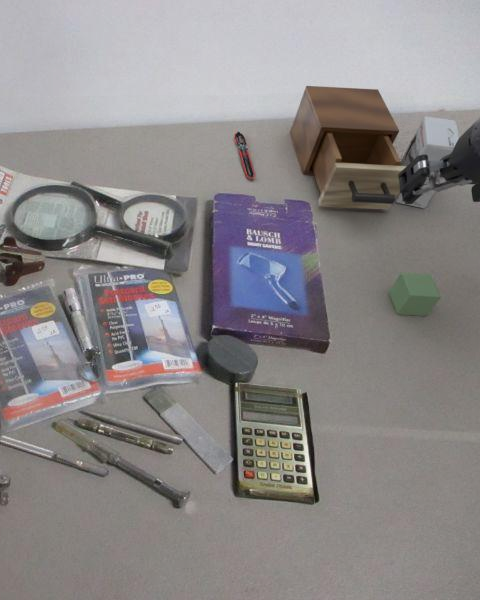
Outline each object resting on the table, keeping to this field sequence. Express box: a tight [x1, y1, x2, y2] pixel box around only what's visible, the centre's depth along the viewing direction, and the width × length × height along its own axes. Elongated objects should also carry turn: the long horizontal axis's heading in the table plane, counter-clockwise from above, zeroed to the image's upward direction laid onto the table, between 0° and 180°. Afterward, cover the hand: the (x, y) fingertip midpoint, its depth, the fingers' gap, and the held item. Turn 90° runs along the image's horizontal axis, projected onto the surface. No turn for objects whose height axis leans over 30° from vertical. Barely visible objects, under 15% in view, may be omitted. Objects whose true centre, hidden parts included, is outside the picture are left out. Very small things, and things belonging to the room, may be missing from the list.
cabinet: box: [289, 85, 400, 176], centre depth 104 cm, size 13×13×10 cm
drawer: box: [311, 131, 407, 210], centre depth 96 cm, size 16×11×8 cm
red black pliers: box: [233, 131, 256, 180], centre depth 106 cm, size 2×14×1 cm, turn 0°
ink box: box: [394, 115, 460, 209], centre depth 97 cm, size 8×5×12 cm, turn 162°
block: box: [388, 272, 442, 317], centre depth 83 cm, size 4×4×4 cm
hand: (440, 196), depth 80 cm, fingers open, 8 cm apart
